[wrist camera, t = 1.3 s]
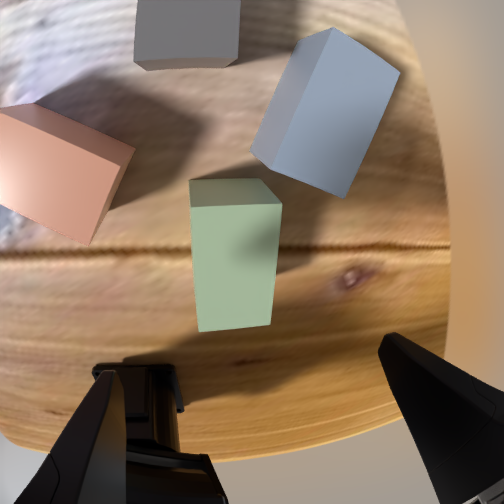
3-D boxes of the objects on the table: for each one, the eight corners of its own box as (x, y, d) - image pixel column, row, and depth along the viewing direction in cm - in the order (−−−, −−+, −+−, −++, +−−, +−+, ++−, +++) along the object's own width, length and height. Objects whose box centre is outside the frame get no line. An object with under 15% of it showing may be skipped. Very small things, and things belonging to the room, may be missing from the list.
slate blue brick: (309, 174, 16) (344, 199, 12) (248, 150, 15) (270, 169, 11) (354, 72, 13) (400, 72, 10) (297, 40, 12) (333, 26, 9)
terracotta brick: (136, 148, 13) (120, 166, 10) (108, 210, 14) (88, 246, 11) (34, 102, 10) (-7, 109, 7) (13, 166, 12) (-27, 189, 8)
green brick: (252, 280, 18) (270, 324, 15) (193, 285, 18) (198, 332, 14) (258, 177, 15) (282, 203, 12) (188, 179, 15) (190, 207, 11)
